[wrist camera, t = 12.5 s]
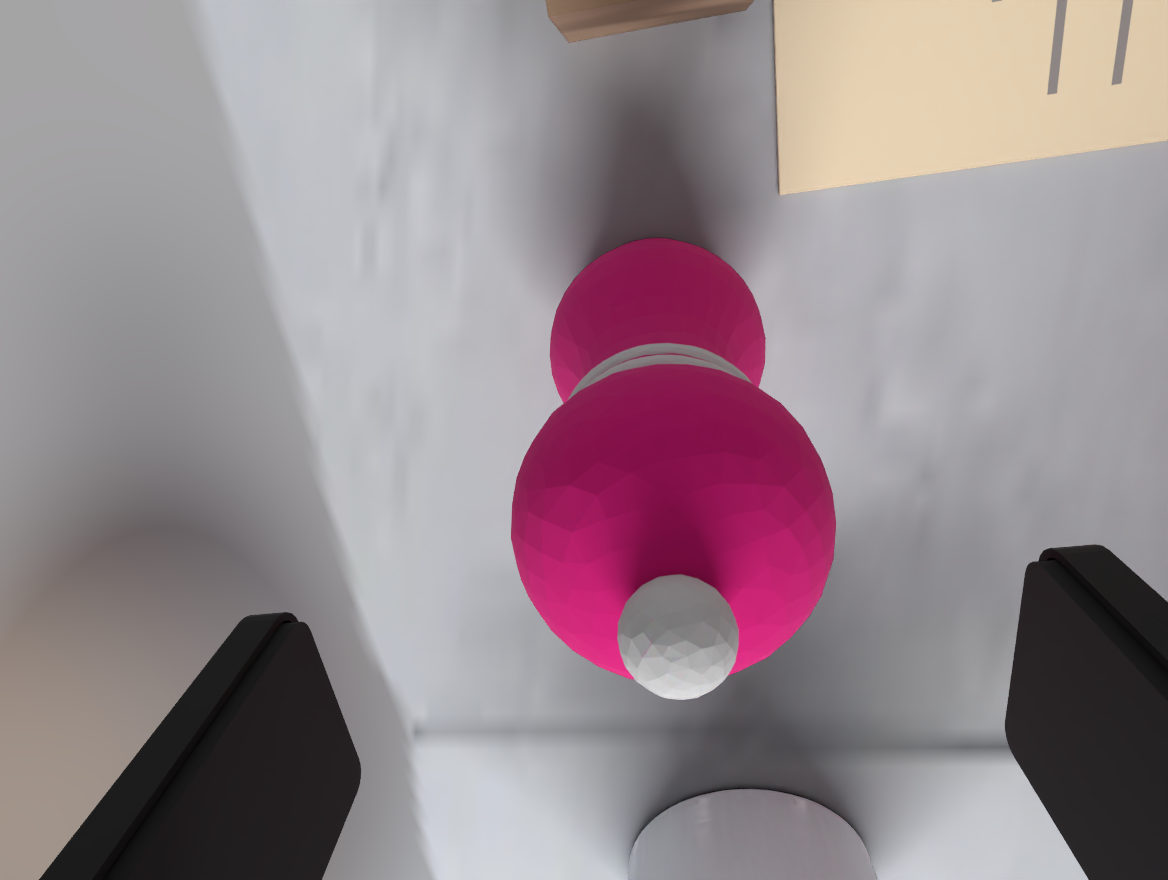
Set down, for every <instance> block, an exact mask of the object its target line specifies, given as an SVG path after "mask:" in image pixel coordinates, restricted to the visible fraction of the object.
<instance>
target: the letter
mask: <svg viewBox="0 0 1168 880" xmlns="http://www.w3.org/2000/svg"><path fill="white" fill-rule="evenodd" d="M773 16H774V48H775V80H776V113H777V145H778V177H779V195H784V194H791V193H798V192H805V191H812V190H819V189H826V188H834V187H841V186H848V185H855V184H862V183H869V182H876V181H883V180H890V179H897V178H904V177H912V176H919V175H926V174H933V173H940V172H947V171H954V170H961V169H968V168H975V167H983V166H990V165H997V164H1004V163H1011V162H1018V161H1025V160H1032V159H1039V158H1046V157H1053V156H1061V155H1068V154H1075V153H1082V152H1089V151H1096V150H1103V149H1110V148H1117V147H1124V146H1131V145H1139V144H1146V143H1153V142H1160V141H1167V140H1168V0H773Z"/></svg>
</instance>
